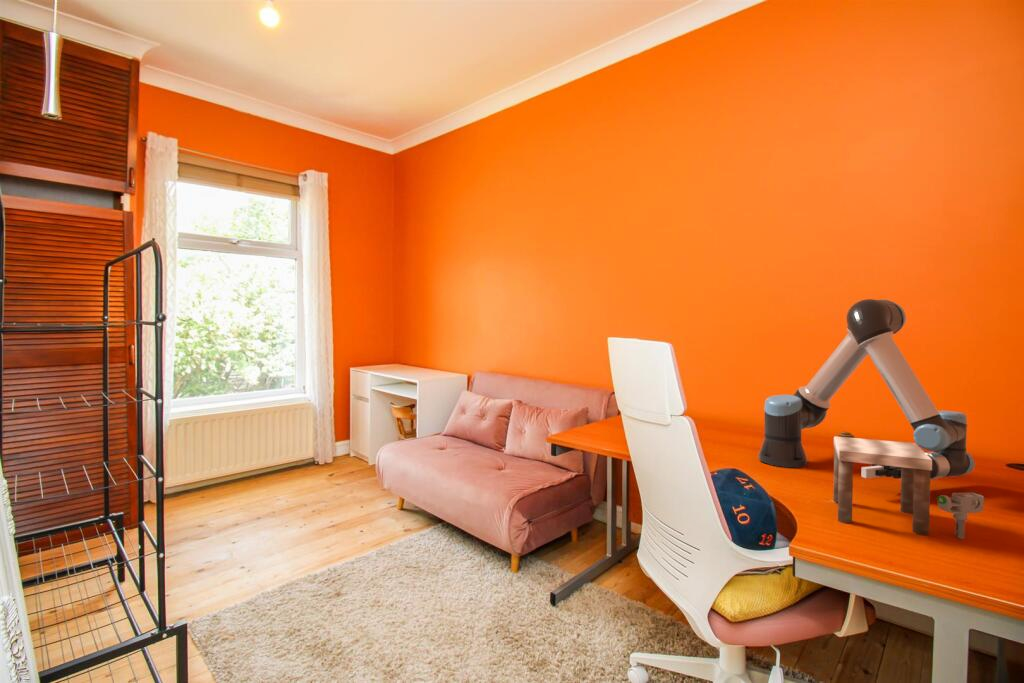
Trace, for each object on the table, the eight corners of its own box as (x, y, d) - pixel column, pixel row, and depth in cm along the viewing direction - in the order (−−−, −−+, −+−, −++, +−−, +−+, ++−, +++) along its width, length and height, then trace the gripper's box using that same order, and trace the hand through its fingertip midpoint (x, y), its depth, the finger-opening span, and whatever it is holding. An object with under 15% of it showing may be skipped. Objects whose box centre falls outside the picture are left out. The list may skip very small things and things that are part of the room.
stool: (838, 522, 125) (839, 450, 125) (832, 499, 141) (833, 436, 140) (930, 536, 116) (932, 459, 116) (913, 511, 132) (915, 443, 132)
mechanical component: (933, 535, 117) (934, 493, 116) (973, 534, 118) (974, 492, 117) (945, 541, 114) (946, 497, 113) (986, 539, 115) (987, 496, 114)
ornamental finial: (836, 449, 197) (859, 452, 192) (832, 452, 192) (855, 456, 187) (836, 429, 197) (859, 431, 192) (832, 432, 192) (855, 435, 186)
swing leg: (877, 504, 136) (878, 451, 135) (879, 508, 133) (880, 453, 133) (832, 498, 141) (833, 447, 140) (833, 501, 138) (834, 449, 138)
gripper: (949, 485, 143) (886, 493, 136) (902, 472, 155) (842, 479, 149) (950, 459, 142) (886, 465, 136) (903, 448, 155) (843, 454, 149)
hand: (863, 472), depth 143 cm, fingers closed
